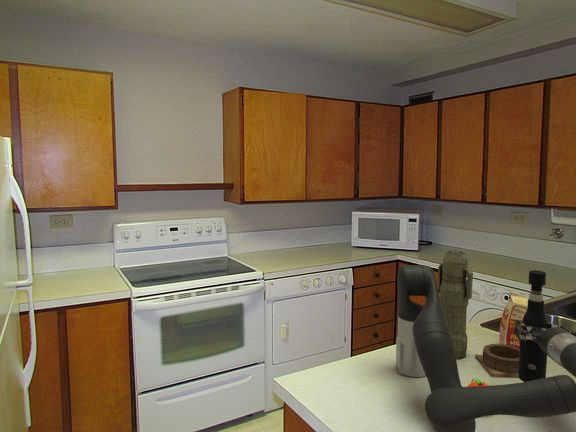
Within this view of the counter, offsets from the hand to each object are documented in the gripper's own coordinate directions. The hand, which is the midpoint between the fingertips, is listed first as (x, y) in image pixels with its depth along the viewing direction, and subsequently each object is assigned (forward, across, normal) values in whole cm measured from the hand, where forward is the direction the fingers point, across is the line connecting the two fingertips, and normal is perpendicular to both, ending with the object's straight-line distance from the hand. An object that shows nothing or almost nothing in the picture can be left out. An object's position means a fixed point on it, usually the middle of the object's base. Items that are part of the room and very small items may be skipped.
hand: (530, 323), depth 113 cm
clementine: (-9, -16, -20) cm, 27 cm away
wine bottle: (-2, 0, -15) cm, 15 cm away
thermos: (+23, -14, -20) cm, 33 cm away
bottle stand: (+14, 0, -20) cm, 24 cm away
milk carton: (+29, +9, -20) cm, 36 cm away
